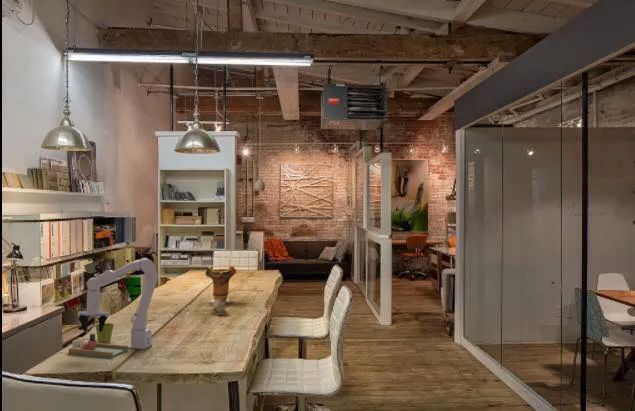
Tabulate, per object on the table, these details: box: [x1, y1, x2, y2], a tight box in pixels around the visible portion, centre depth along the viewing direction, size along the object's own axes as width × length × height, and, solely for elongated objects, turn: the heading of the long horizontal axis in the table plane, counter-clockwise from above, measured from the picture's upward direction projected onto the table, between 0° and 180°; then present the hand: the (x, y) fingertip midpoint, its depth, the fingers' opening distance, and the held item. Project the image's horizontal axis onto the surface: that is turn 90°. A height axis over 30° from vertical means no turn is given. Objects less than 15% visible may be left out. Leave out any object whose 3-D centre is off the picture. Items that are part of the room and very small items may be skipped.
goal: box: [72, 336, 90, 349], centre depth 238 cm, size 5×8×5 cm, turn 166°
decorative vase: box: [205, 264, 237, 304], centre depth 370 cm, size 21×23×28 cm
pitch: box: [68, 342, 129, 359], centre depth 236 cm, size 24×12×2 cm, turn 76°
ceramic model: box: [210, 298, 228, 316], centre depth 328 cm, size 14×11×10 cm
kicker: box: [84, 332, 98, 350], centre depth 237 cm, size 4×6×7 cm, turn 166°
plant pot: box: [94, 322, 115, 344], centre depth 254 cm, size 9×9×9 cm
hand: (93, 331), depth 237 cm, fingers open, 7 cm apart
